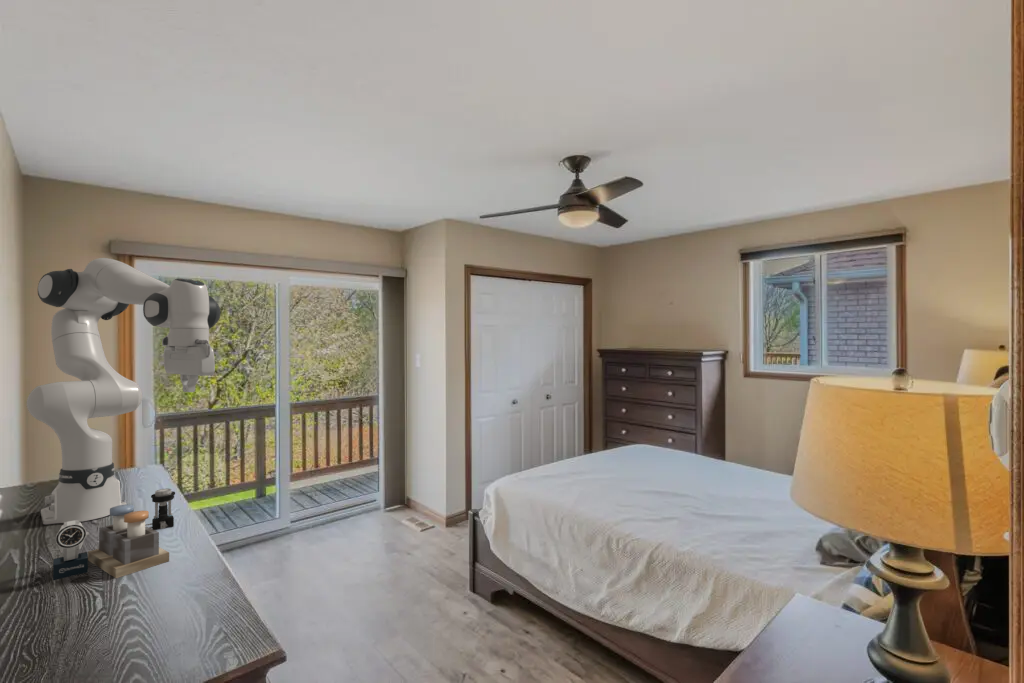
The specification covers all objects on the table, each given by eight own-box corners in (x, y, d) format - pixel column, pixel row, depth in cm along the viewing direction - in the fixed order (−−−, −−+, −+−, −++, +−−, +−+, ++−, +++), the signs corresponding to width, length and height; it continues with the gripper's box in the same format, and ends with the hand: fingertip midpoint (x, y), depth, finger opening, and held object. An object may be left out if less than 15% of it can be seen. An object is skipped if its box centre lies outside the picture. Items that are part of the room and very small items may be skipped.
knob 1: (106, 547, 114) (106, 508, 114) (128, 541, 118) (129, 503, 118) (113, 552, 112) (114, 511, 112) (136, 545, 115) (137, 506, 115)
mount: (87, 560, 113) (88, 529, 113) (139, 545, 121) (139, 516, 121) (115, 578, 104) (116, 545, 104) (169, 561, 112) (169, 530, 112)
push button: (144, 533, 128) (145, 495, 129) (144, 527, 133) (144, 490, 133) (175, 528, 133) (175, 491, 133) (174, 522, 137) (174, 486, 137)
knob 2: (120, 556, 110) (120, 514, 110) (143, 549, 113) (143, 509, 113) (128, 560, 107) (128, 518, 107) (151, 553, 111) (152, 512, 111)
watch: (52, 583, 102) (53, 530, 102) (53, 570, 108) (54, 520, 108) (88, 575, 105) (89, 523, 105) (87, 562, 111) (87, 514, 111)
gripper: (222, 339, 127) (221, 393, 127) (184, 340, 139) (184, 389, 138) (195, 339, 122) (195, 395, 122) (158, 339, 133) (158, 390, 133)
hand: (189, 391), depth 130 cm, fingers closed
